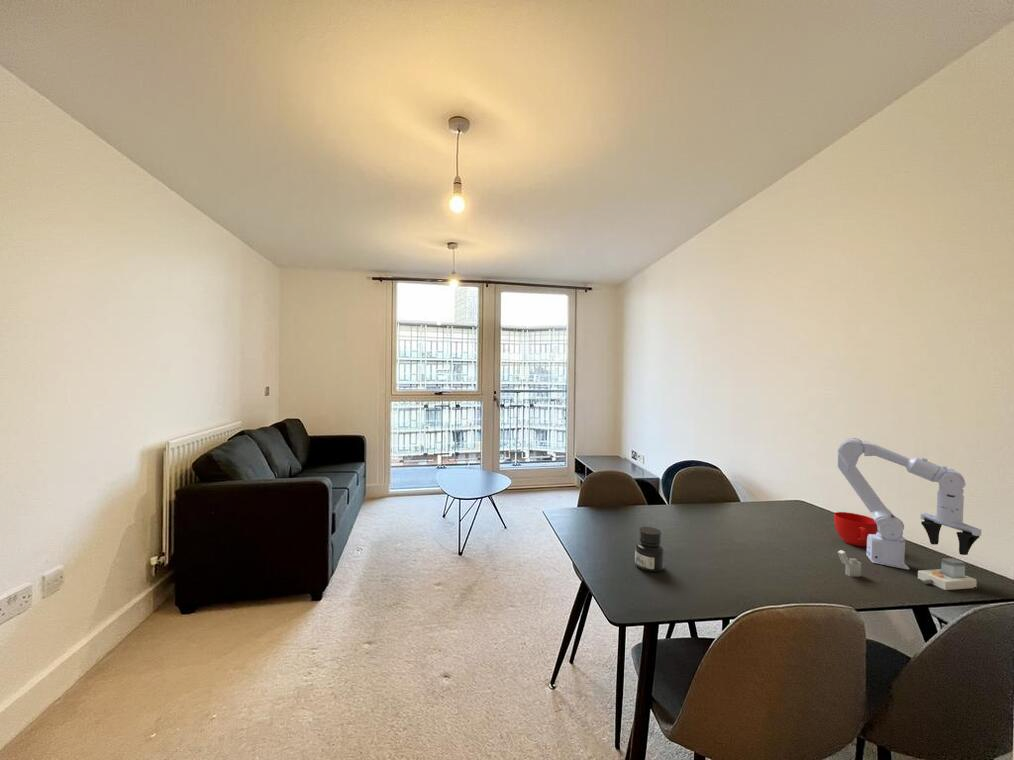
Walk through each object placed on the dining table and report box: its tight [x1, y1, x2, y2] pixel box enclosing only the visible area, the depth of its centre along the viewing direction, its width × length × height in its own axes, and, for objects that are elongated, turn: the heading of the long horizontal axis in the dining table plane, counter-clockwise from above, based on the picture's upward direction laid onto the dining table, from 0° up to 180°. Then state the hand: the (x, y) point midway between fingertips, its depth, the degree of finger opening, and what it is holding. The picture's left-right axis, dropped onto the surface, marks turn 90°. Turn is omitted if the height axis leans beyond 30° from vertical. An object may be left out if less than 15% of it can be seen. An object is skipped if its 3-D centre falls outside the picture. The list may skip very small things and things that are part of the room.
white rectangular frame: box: [917, 568, 977, 591], centre depth 124 cm, size 14×7×3 cm, turn 99°
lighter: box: [837, 549, 862, 578], centre depth 128 cm, size 7×2×8 cm, turn 96°
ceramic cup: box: [833, 511, 878, 547], centre depth 153 cm, size 13×17×10 cm
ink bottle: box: [634, 526, 665, 573], centre depth 130 cm, size 10×9×12 cm
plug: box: [940, 557, 966, 579], centre depth 125 cm, size 4×3×7 cm, turn 99°
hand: (948, 549), depth 128 cm, fingers open, 7 cm apart
